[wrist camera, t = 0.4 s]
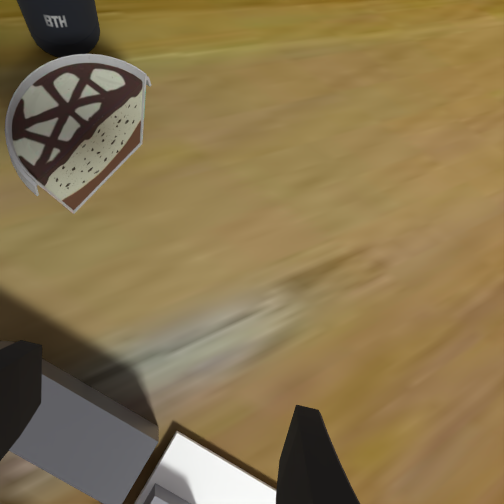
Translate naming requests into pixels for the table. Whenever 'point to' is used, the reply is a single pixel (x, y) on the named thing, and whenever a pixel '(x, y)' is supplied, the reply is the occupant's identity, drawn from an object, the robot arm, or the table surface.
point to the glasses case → (85, 437)
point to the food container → (75, 124)
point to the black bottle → (62, 25)
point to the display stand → (201, 478)
